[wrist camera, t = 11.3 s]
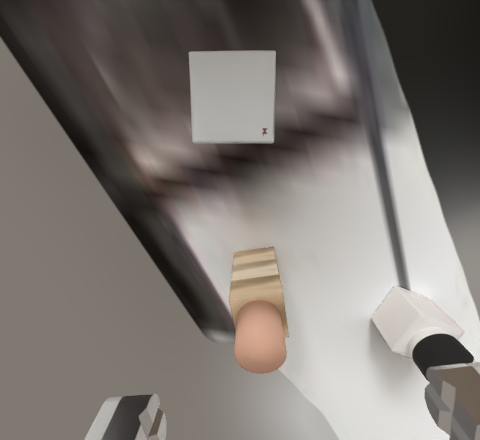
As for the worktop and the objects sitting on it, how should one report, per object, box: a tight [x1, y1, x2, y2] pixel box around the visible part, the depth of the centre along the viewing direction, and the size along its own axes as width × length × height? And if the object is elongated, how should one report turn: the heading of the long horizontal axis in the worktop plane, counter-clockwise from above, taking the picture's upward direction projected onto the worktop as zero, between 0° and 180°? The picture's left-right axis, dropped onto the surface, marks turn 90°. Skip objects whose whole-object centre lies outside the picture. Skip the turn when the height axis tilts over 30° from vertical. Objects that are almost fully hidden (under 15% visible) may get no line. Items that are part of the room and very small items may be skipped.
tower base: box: [233, 247, 276, 265], centre depth 40 cm, size 6×6×4 cm
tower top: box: [229, 274, 289, 337], centre depth 33 cm, size 6×6×4 cm
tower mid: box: [231, 259, 279, 281], centre depth 36 cm, size 6×6×4 cm
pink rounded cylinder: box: [234, 300, 286, 374], centre depth 28 cm, size 5×5×5 cm
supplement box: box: [189, 50, 276, 143], centre depth 28 cm, size 7×7×13 cm
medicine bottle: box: [371, 285, 475, 380], centre depth 38 cm, size 7×7×12 cm
